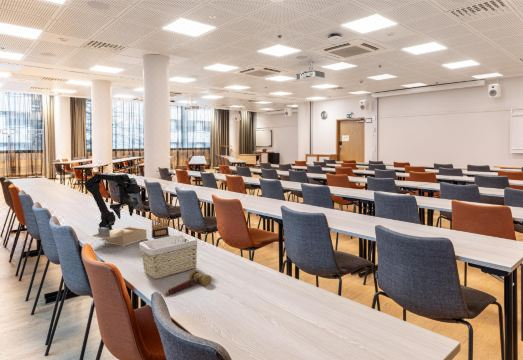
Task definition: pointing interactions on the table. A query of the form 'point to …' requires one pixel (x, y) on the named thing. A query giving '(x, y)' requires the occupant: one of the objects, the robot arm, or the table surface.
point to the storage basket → (169, 255)
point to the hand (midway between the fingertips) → (125, 217)
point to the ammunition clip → (159, 228)
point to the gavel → (191, 282)
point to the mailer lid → (112, 233)
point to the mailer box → (129, 237)
